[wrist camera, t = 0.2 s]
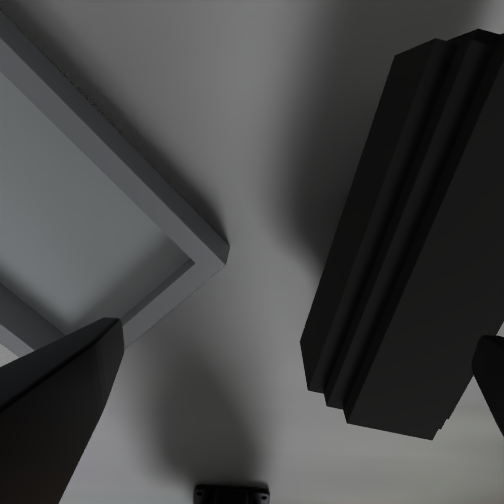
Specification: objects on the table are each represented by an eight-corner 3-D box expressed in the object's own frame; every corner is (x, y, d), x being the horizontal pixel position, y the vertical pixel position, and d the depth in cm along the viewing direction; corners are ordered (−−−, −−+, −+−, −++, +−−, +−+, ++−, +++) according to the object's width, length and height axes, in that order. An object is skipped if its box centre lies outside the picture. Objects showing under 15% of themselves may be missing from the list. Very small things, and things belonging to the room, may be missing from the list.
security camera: (281, 338, 26) (292, 466, 16) (370, 52, 19) (472, -4, 10) (374, 358, 26) (436, 494, 17) (492, 84, 20) (701, 59, 10)
